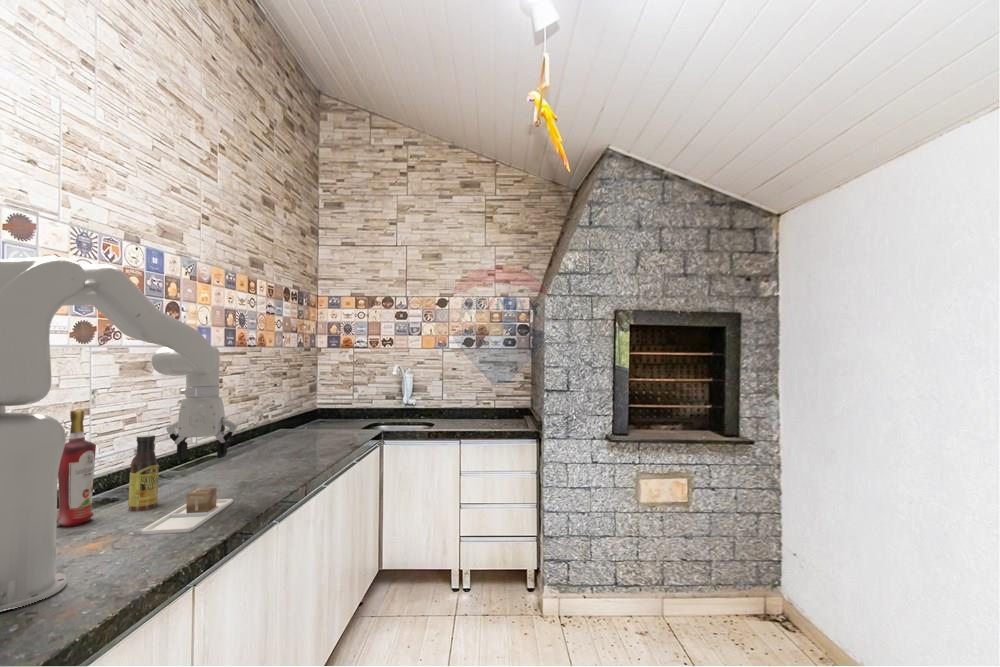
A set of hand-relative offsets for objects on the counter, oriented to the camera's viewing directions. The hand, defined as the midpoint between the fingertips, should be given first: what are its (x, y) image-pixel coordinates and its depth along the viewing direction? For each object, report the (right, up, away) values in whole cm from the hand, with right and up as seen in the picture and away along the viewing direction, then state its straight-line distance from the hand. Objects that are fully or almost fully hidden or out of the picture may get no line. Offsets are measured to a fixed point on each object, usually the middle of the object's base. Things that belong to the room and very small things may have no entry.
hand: (202, 457), depth 124 cm
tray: (+1, -14, -6) cm, 15 cm away
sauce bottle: (-17, -15, +2) cm, 23 cm away
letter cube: (0, -14, -1) cm, 14 cm away
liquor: (-27, -15, -7) cm, 32 cm away
